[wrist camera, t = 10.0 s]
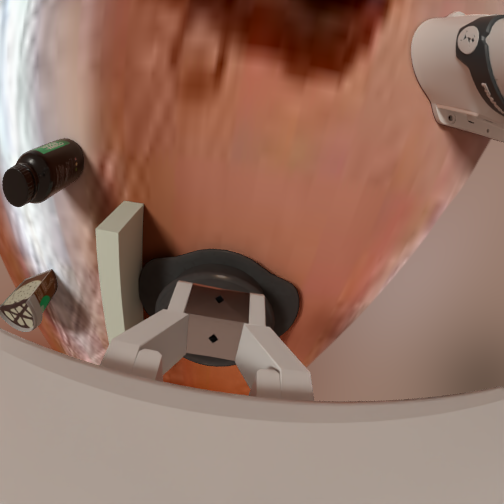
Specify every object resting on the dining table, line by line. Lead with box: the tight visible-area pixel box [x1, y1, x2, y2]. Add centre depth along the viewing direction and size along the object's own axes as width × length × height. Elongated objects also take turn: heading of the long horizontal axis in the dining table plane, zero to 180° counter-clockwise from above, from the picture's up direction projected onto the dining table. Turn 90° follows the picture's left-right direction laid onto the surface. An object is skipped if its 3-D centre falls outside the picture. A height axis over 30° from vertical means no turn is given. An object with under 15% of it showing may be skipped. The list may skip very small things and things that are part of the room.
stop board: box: [96, 201, 144, 344], centre depth 41 cm, size 3×26×9 cm, turn 169°
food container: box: [0, 269, 57, 332], centre depth 43 cm, size 12×6×10 cm, turn 107°
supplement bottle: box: [2, 138, 84, 207], centre depth 30 cm, size 7×7×12 cm
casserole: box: [139, 249, 299, 367], centre depth 43 cm, size 25×19×8 cm
